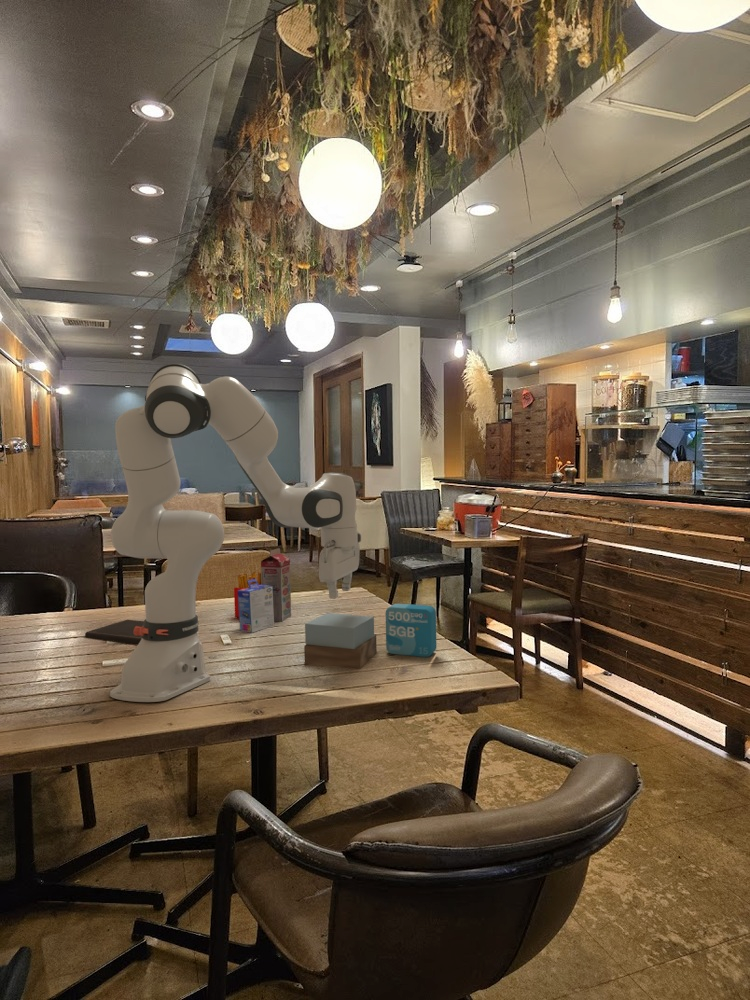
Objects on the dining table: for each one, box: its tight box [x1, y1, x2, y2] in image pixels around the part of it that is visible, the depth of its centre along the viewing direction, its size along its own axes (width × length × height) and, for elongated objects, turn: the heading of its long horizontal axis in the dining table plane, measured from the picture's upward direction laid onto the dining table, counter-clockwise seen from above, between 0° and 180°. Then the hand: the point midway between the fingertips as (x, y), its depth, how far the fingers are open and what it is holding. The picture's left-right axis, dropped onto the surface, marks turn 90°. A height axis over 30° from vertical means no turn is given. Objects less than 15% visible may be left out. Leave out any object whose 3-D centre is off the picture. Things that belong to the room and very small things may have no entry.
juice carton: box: [260, 547, 292, 622], centre depth 202 cm, size 7×7×22 cm
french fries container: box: [233, 571, 262, 620], centre depth 205 cm, size 7×9×14 cm
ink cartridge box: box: [238, 578, 275, 634], centre depth 191 cm, size 10×6×14 cm, turn 147°
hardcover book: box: [84, 619, 144, 646], centre depth 187 cm, size 16×23×2 cm
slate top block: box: [304, 612, 375, 649], centre depth 160 cm, size 12×13×5 cm
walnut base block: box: [303, 633, 377, 669], centre depth 161 cm, size 14×14×5 cm
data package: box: [385, 603, 437, 658], centre depth 163 cm, size 12×4×12 cm, turn 69°
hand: (340, 594), depth 160 cm, fingers open, 8 cm apart
